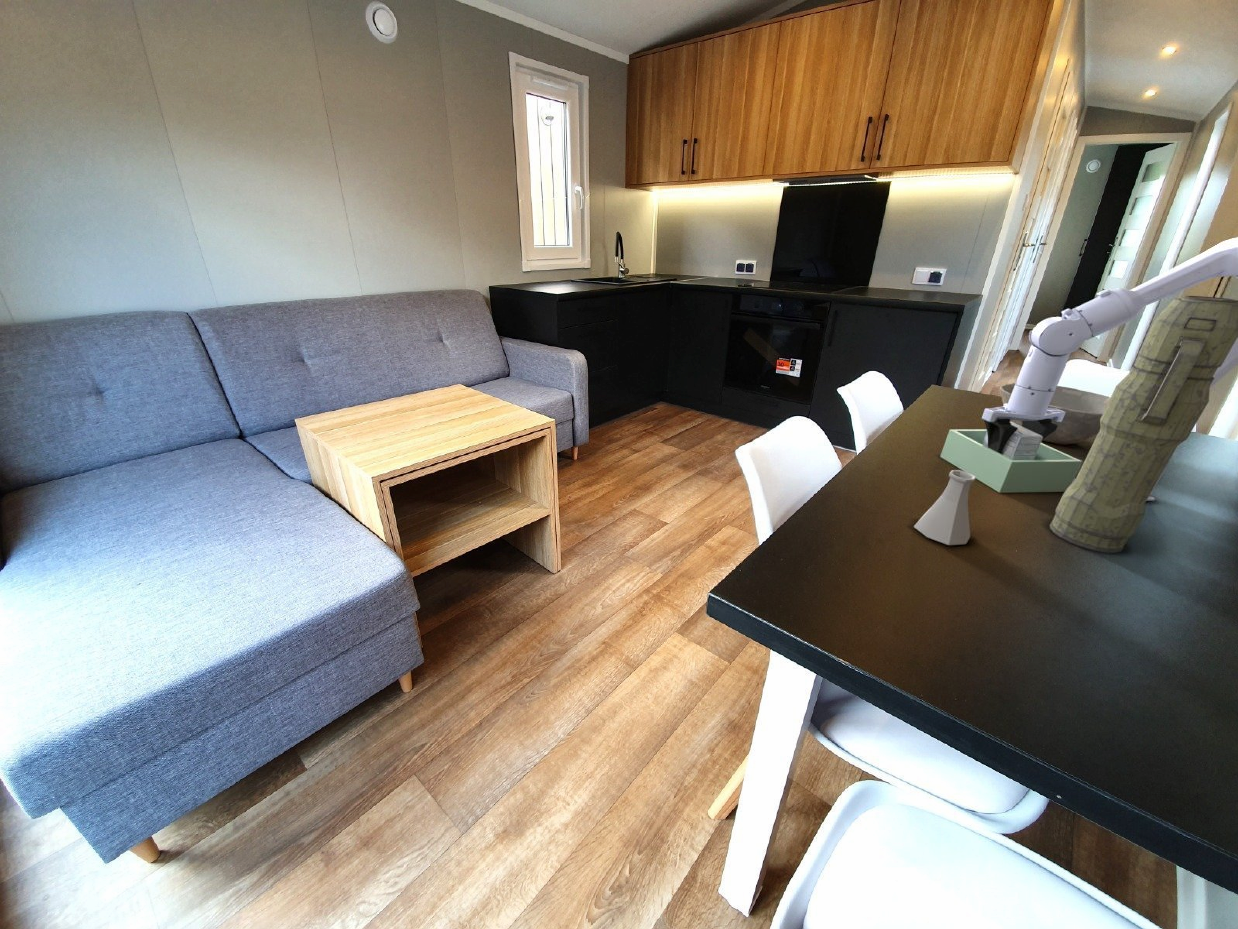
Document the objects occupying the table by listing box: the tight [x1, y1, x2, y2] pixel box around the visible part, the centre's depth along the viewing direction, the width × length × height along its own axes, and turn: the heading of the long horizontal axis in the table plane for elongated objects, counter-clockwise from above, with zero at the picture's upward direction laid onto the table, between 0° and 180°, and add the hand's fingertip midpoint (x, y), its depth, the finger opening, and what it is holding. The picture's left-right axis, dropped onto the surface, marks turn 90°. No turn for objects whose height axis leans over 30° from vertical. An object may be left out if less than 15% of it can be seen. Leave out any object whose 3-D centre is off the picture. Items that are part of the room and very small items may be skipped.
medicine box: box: [982, 422, 1043, 460], centre depth 93 cm, size 8×4×9 cm, turn 1°
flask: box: [913, 469, 977, 546], centre depth 73 cm, size 7×7×10 cm
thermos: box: [1049, 295, 1238, 554], centre depth 68 cm, size 9×12×35 cm
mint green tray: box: [940, 428, 1083, 494], centre depth 94 cm, size 14×16×6 cm
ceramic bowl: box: [999, 382, 1111, 445], centre depth 112 cm, size 22×23×10 cm
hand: (1006, 455), depth 94 cm, fingers open, 5 cm apart
